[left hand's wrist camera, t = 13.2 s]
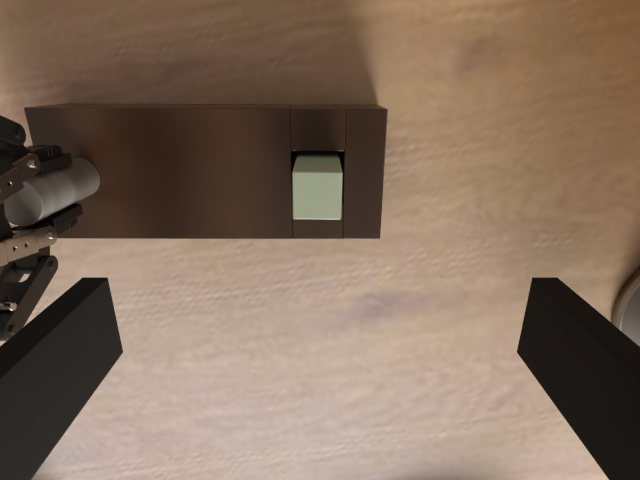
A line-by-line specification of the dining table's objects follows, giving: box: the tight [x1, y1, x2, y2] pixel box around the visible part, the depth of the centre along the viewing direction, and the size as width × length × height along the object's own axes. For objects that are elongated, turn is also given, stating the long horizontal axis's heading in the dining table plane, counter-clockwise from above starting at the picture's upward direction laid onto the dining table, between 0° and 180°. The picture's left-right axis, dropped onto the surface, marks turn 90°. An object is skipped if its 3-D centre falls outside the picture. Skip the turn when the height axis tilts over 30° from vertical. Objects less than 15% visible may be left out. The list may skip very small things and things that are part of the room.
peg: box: [292, 151, 343, 220], centre depth 31 cm, size 3×3×10 cm
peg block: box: [4, 104, 388, 239], centre depth 30 cm, size 26×10×12 cm, turn 90°
